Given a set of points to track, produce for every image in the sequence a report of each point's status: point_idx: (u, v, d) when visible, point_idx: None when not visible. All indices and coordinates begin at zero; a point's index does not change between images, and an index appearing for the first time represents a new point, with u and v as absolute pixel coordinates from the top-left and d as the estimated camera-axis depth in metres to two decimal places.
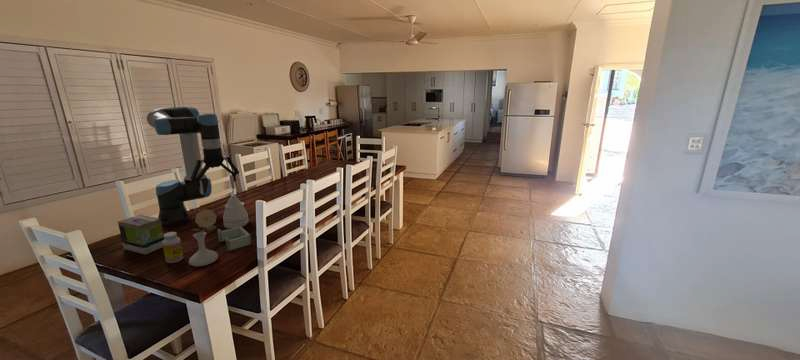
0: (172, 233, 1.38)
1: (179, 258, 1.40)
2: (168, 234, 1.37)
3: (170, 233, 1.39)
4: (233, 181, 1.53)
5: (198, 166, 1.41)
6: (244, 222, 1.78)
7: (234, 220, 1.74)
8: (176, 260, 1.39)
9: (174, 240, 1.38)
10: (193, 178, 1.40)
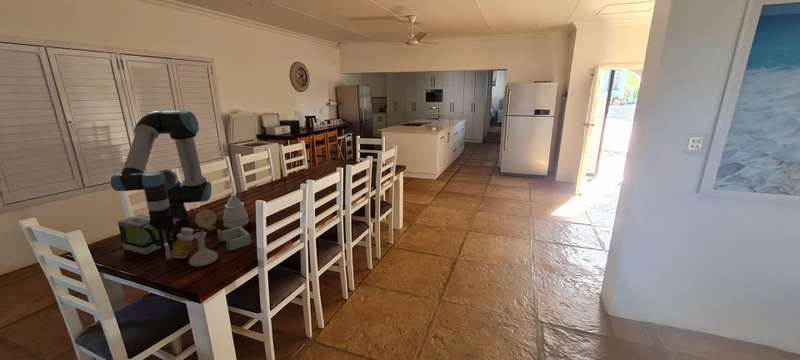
0: (189, 229, 1.43)
1: (184, 255, 1.41)
2: (186, 229, 1.42)
3: (187, 228, 1.43)
4: (169, 250, 1.38)
5: (150, 232, 1.32)
6: (244, 222, 1.78)
7: (234, 220, 1.74)
8: (181, 256, 1.40)
9: (189, 236, 1.41)
10: (156, 244, 1.34)
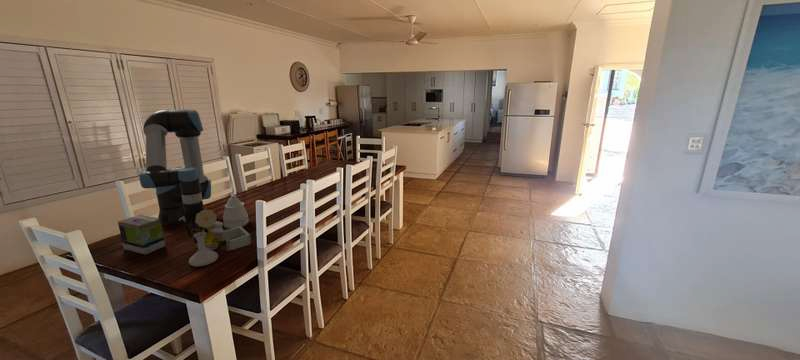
0: (219, 222, 1.51)
1: (214, 247, 1.49)
2: (216, 222, 1.50)
3: (218, 222, 1.51)
4: None
5: (184, 224, 1.40)
6: (244, 222, 1.78)
7: (234, 220, 1.74)
8: (211, 248, 1.48)
9: (219, 229, 1.49)
10: (190, 235, 1.42)
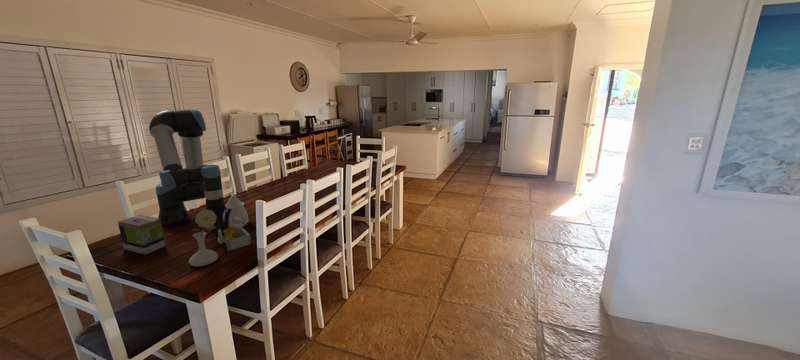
0: (239, 218, 1.56)
1: None
2: (236, 218, 1.55)
3: (237, 217, 1.57)
4: (221, 236, 1.52)
5: None
6: (244, 222, 1.78)
7: None
8: None
9: (238, 224, 1.55)
10: (211, 230, 1.48)
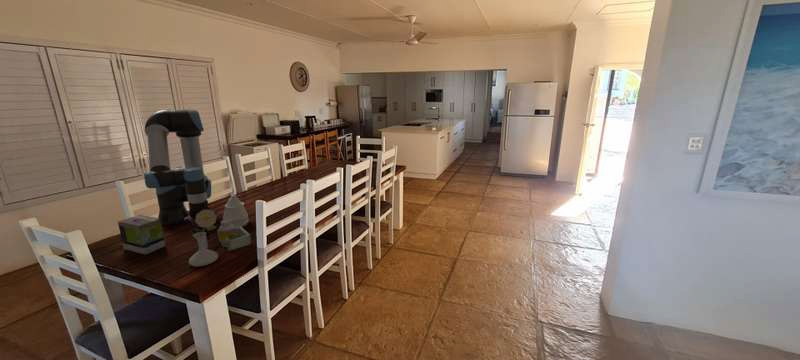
0: (227, 220, 1.53)
1: None
2: (224, 221, 1.52)
3: (226, 220, 1.54)
4: (206, 240, 1.48)
5: (190, 224, 1.42)
6: (244, 222, 1.78)
7: (234, 220, 1.74)
8: None
9: (229, 226, 1.52)
10: None
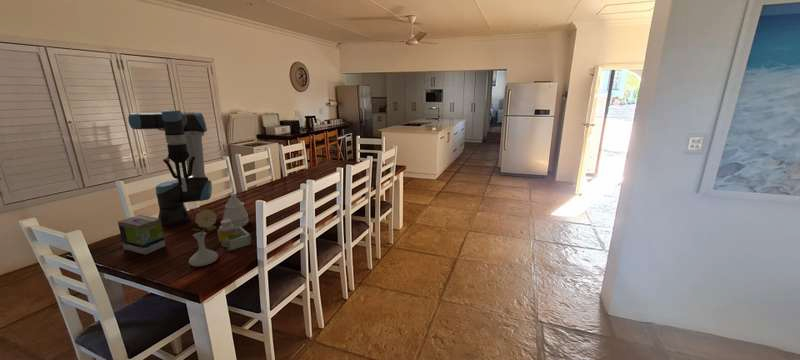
0: (228, 220, 1.53)
1: None
2: (224, 221, 1.53)
3: (226, 220, 1.54)
4: (185, 183, 1.52)
5: (168, 165, 1.46)
6: (244, 222, 1.78)
7: (234, 220, 1.74)
8: None
9: (229, 226, 1.52)
10: (174, 176, 1.48)
